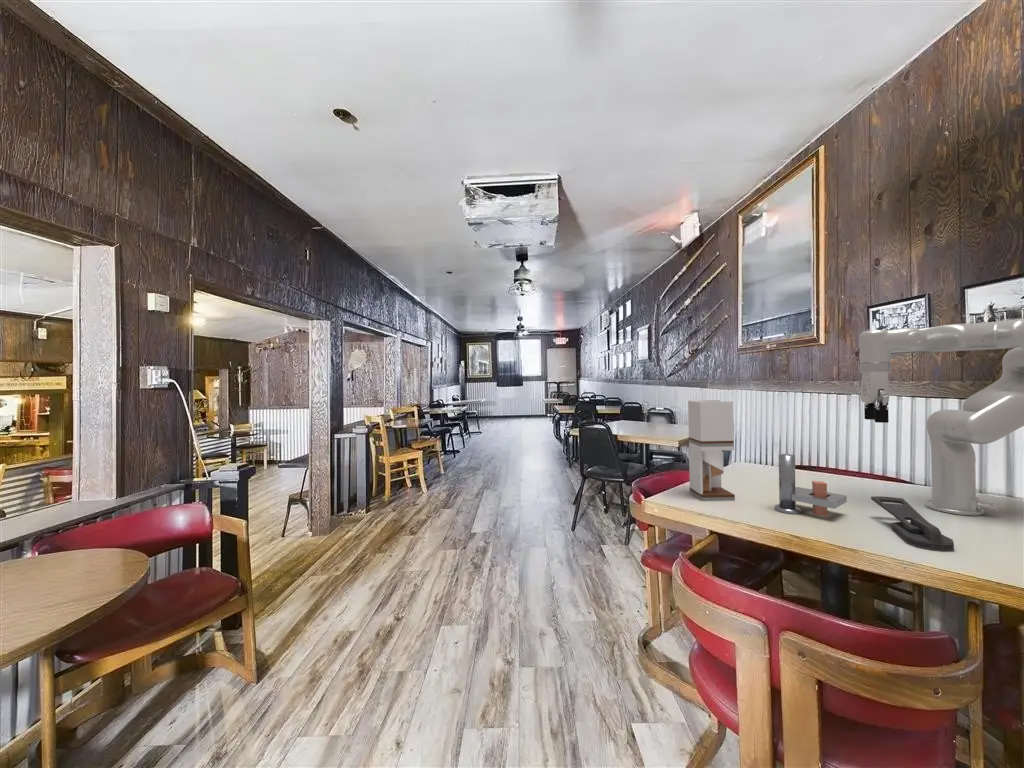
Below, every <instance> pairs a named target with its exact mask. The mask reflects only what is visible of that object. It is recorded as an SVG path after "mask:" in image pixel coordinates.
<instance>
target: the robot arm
mask: <svg viewBox="0 0 1024 768" xmlns="http://www.w3.org/2000/svg"><path fill="white" fill-rule="evenodd" d="M1000 349H1010V350H1008V351H1007V352H1006V353H1004V356H1003V357H1002V361H1001V363H1002V364H1001V365H1002V372H1001V373H1002V374H1001V376H1000V378H999V379H997V380H996V381H994V382H993V383H991V384H989V385H988V386H986V387H984V388H982V389H980V390H979V391H977V392H975V393H973V394H972V395H970V396H969V397H967V398H966V399H965V400H964V402H963V404H962V410H961V409H960V410H959V409H941V410H937V411H934V412H933V413H931V414H930V415H929V416H928V418H927V420H926V431H927V435H928V438H929V443H930V456H931V457H930V464H931V467H930V469H931V470H930V472H931V473H930V474H931V475H930V476H931V479H930V480H931V499H930V500H926V501H924V505H925V507H927V508H929V509H932V510H934V511H938V512H942V513H946V514H952V515H953V514H954V515H960V516H961V515H963V516H982V515H984V513H985V510H989V511H992V512H999V505H998V504H994V503H991V502H984V501H982V500H979V499H980V497H979V496H977V495H976V494H977V490H976V487H977V486H976V485H977V483H976V482H977V481H976V480H977V479H976V477H977V476H976V452H975V449H974V447H973V444H975V445H987V444H992V443H994V442H997V441H998V440H1000V439H1002V438H1004V437H1006V436H1008V435H1009V434H1012V433H1013V432H1015V431H1017V430H1019V429H1020V428H1023V427H1024V318H1017V319H1009V320H1001V321H988V322H986V321H985V322H972V323H951V324H945V325H939V326H933V327H926V328H915V327H902V328H896V329H889V330H888V329H872V330H865V331H862V332H861V333H860V334H859V373H860V374H862V375H861V382H860V383H861V384H860V401H861V402H862V403H864V405H863V406H864V407H863V408H864V409H863V410H864V412H863V413H864V415H863V416H864V420H872V421H873V420H874V423H877V424H878V423H885V424H886V423H887V424H888V423H889V421H890V420H889V402H890V382H889V373H892V354H895V353H916V352H917V353H918V352H920V353H921V352H934V353H935V352H937V353H938V352H939V353H940V352H943V353H944V352H945V353H946V352H961V351H983V350H985V351H986V350H1000Z"/></svg>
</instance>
